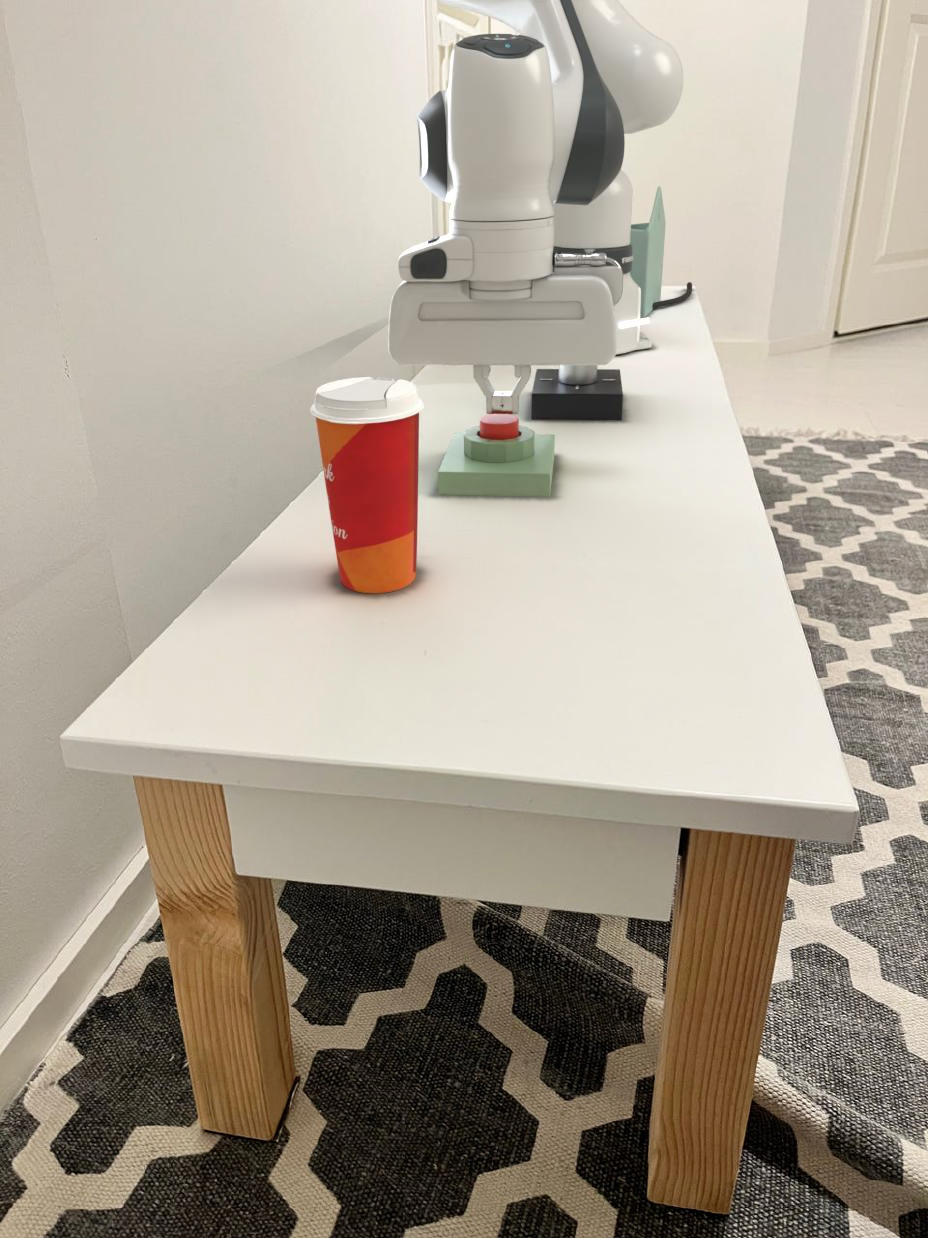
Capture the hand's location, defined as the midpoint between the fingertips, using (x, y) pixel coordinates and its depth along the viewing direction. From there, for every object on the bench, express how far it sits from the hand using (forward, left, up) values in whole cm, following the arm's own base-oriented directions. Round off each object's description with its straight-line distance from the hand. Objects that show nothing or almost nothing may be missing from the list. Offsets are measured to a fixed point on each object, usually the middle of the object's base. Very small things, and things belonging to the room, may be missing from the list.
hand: (502, 412), depth 89 cm
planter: (-91, +15, -6) cm, 92 cm away
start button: (0, 0, -2) cm, 2 cm away
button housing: (0, 0, -6) cm, 6 cm away
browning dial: (-25, +7, -3) cm, 26 cm away
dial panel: (-25, +7, -6) cm, 26 cm away
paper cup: (+24, -7, -6) cm, 26 cm away
